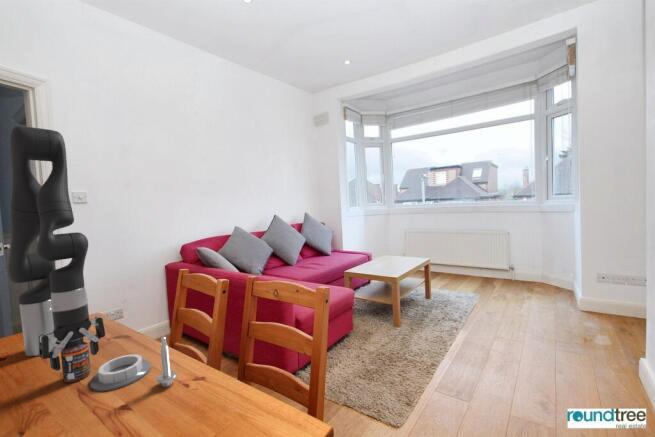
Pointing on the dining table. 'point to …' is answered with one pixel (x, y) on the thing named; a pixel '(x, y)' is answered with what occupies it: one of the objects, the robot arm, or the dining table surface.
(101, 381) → the bottle coaster
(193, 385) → the dining table surface
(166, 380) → the screw
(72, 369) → the supplement bottle
